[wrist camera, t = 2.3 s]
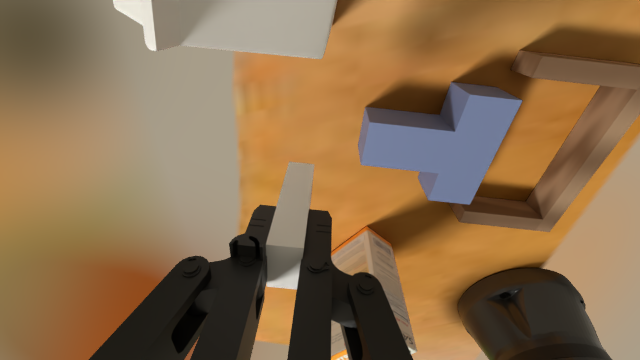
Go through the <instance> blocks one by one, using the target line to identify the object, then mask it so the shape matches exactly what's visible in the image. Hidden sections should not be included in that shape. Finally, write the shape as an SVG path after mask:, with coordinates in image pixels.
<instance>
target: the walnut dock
mask: <svg viewBox="0 0 640 360" xmlns="http://www.w3.org/2000/svg"><path fill="white" fill-rule="evenodd" d="M511 70H513V71H515V72H518V73H521V74H523V75H526V76H529V77H531V78H538V79H547V80H556V81H565V82H574V83H582V84H591V85H600V88H599V89H598V91H597V92H596V94H595V95H594V97H593V98H592V100H591V102H590V103H589V105H588V106H587V108H586V109H585V111H584V112H583V114H582V115H581V117H580V119H579V120H578V122H577V123H576V125H575V126H574V128H573V129H572V131H571V132H570V134H569V136H568V137H567V139H566V140H565V142H564V143H563V145H562V146H561V148H560V149H559V151H558V153H557V154H556V156H555V157H554V159H553V160H552V162H551V163H550V165H549V166H548V168H547V170H546V171H545V173H544V174H543V176H542V177H541V179H540V180H539V182H538V183H537V185H536V187H535V188H534V190H533V191H532V193H531V194H530V196H529V197H528V199H527V201H526V202H524V201H515V200H506V199H497V198H488V197H479V196H474V197H473V199H472V201H471V203H470V205H468V204H459V203H450V204H449V205H450V206H451V208H452V210H453V212H454V213H455V215H456V217H457V219H458V221H459V222H462V223H471V224H481V225H490V226H499V227H508V228H517V229H526V230H535V231H545V232H550V231H551V229H552V228H553V227H554V225H555V224H556V223H557V221H558V220H559V219H560V218H561V216H562V215H563V214H564V212H565V211H566V210H567V208H568V207H569V206H570V204H571V203H572V202H573V201H574V199H575V198H576V197H577V195H578V194H579V193H580V191H581V190H582V189H583V187H584V186H585V185H586V184H587V182H588V181H589V180H590V178H591V177H592V176H593V174H594V173H595V172H596V171H597V169H598V168H599V167H600V165H601V164H602V163H603V161H604V160H605V159H606V157H607V156H608V155H609V154H610V152H611V151H612V150H613V148H614V147H615V146H616V144H617V143H618V142H619V141H620V139H621V138H622V137H623V135H624V134H625V133H626V131H627V130H628V129H629V127H630V126H631V125H632V124H633V122H634V121H635V120H636V118H637V117H638V116H639V114H640V64H635V63H626V62H617V61H609V60H600V59H591V58H582V57H573V56H565V55H556V54H547V53H538V52H530V51H521V50H519V52H518V55H517V57H516V59H515V61H514V63H513V66H512V68H511Z"/></svg>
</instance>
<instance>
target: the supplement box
mask: <svg viewBox="0 0 640 360" xmlns="http://www.w3.org/2000/svg"><path fill="white" fill-rule="evenodd" d="M331 259H332V262H333V264H334V265H335V266H336V267H337V268H338V269H339V270H341V271H342V272H344V273H347V274H349V275H352V276H353V275H354V274H355V273H359V272H367V273H369V274H372V275H373V276H375V277H376V278H377V279H378V280H379V282H380V283H381V285H382V287H383V290H384V292H385V294H386V297H387V299H388V301H389V304H390V306H391V309H392V311H393V313H394V316H395V318H396V320H397V323H398V325H399V327H400V330H401V332H402V334H403V337H404V339H405V342H406V344H407V346H408V349H409V351H410V353H411V354H413V353H415V352H417V349H416V345H415V341H414V337H413V333H412V328H411V324H410V320H409V316H408V312H407V308H406V304H405V299H404V295H403V291H402V287H401V283H400V279H399V275H398V270H397V266H396V262H395V258H394V254H393V250H392V245H391V244H390V243H389V242H387V241H386V240H385V239H383V238H382V237H381V236H379V235H378V234H377V233H375V232H374V231H373V230H371V229H370V228H369V227H367V226H366V227H365V228H363V229H362V230H361V231H359V232H358V233H357V234H355V235H354V236H353V237H351V238H350V239H349V240H347V241H346V242H345V243H343V244H342V245H341V246H339V247H338V248H337V249H335V250H334V251H333V252H331ZM331 360H349V358H348V354H347V350H346V346H345V342H344V338H343V334H342V330H341V326H340V324H339V323H337V322H335V321H332V320H331Z"/></svg>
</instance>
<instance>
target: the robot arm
mask: <svg viewBox="0 0 640 360" xmlns="http://www.w3.org/2000/svg"><path fill="white" fill-rule="evenodd" d="M313 172H314V164H306V163H296V162H289V165H288V168H287V172H286V175H285V179H284V182H283V186H282V189H281V193H280V196H279V200H278V203H277V207H276V206H267V205H260V206H259V207H257V208H256V209H255V210H254V212H253V214H252V217H251V220H250V222H249V225H248V227H247V230H246V232H245V234H241V235H238V236H237V237H235V238H234V239H232V241H231V242H230V243H229V246H230V254H231V257H230V258H227V259H225V260H221V261H215V262H208V261H207V259H205V258H204V257H201V256H193V257H188V258H186V259H183V260H182V261H180V262H179V263H178V264H177V265H176V266H175V267H174V268H173V269H172V270H171V272H169V274H168V275H167V276H166V277H165V278H164V279H163V280H162V281H161V282H160V283H159V284H158V285H157V286H156V287H155V289H154V290H153V291H152V292H151V293H150V294H149V295H148V296H147V297H146V298H145V299H144V300H143V302H142V303H141V304H140V305H139V306H138V307H137V308H136V309H135V310H134V311H133V312H132V313H131V315H130V316H129V317H128V318H127V319H126V320H125V321H124V322H123V323H122V324H121V325H120V326H119V328H117V330H116V331H115V332H114V333H113V334H112V335H111V336H110V337H109V338H108V339H107V341H105V343H104V344H103V345H102V346H101V347H100V348H99V349H98V350H97V351H96V352H95V353H94V354H93V356H92V357H91V358H90V359H89V360H184V359H185V357H186V356H187V354H188V353H189V351H190V350H191V348H192V347H193V345H194V343H195V342H196V340H197V339H198V337H199V339H198V341H197V344H196V346H195V349H194V351H193V354H192V356H191V359H190V360H250V357H251V353H252V349H253V345H254V341H255V336H256V332H257V328H258V324H259V319H260V315H261V311H262V307H263V302H264V290H265V286H266V282H267V287H277V288H287V289H297V293H296V301H295V308H294V315H293V323H292V330H291V337H290V345H289V352H288V359H287V360H331V320H332V321H335V322H337V323H339V324H340V326H341V330H342V334H343V338H344V342H345V346H346V350H347V354H348V358H349V360H413V358H412V356H411V353H410V351H409V349H408V346H407V344H406V342H405V339H404V337H403V334H402V332H401V330H400V327H399V325H398V323H397V320H396V318H395V316H394V313H393V311H392V309H391V306H390V304H389V301H388V299H387V297H386V294H385V292H384V290H383V287H382V285H381V283H380V282H379V280H378V279H377V278H376V277H375V276H373V275H372V274H369V273H367V272H359V273H355V274H354V275H353V276H352V275H349V274H347V273H344V272H342V271H341V270H339V269H338V268H337V267H336V266H335V265H334V264H333V262H332V259H331V231H332V218H331V216H330V214H329V212H328V211H321V210H311V209H310V203H311V193H312V183H313ZM458 312H459V315H460V317H461V320H462V322H463V325H464V327H465V329H466V330H467V332H468V333H469V334H470V335H471V336H472V337H473V338H474V340H475V341H476V343H477V344H478V345H479V347H480V348H481V349H482V351H483V352H484V353H485V355H486V356H487V357H488V359H489V360H612V359H611V358H610V356H609V355H608V354H607V352H606V351H605V350H604V349H603V347H602V345H601V343H600V341H599V339H598V336H597V334H596V331H595V329H594V327H593V325H592V323H591V321H590V319H589V317H588V315H587V313H586V311H585V303H584V300H583V298H582V296H581V295H580V293H579V292H578V291H577V290H576V288H575V287H574V286H573V285H572V284H571V282H570V281H569V280H568V279H567V278H566V277H565V276H563V275H561V274H559V273H557V272H554V271H550V270H547V269H539V268H523V269H514V270H509V271H505V272H501V273H498V274H495V275H492V276H489V277H487V278H485V279H483V280H481V281H479V282H477V283H476V284H474V285H473V286H472V287H470V288H469V289H468V290H467V291H466V292H465V293H464V294H463V296H462V297H461V299H460V301H459V304H458Z"/></svg>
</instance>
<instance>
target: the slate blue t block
mask: <svg viewBox="0 0 640 360" xmlns="http://www.w3.org/2000/svg"><path fill="white" fill-rule="evenodd" d="M522 101H523V100H521V99H519V98H517V97H515V96H513V95H511V94H509V93H507V92H505V91H503V90H501V89H499V88H497V87H491V86H482V85H473V84H464V83H456V82H451V84H450V87H449V90H448V93H447V96H446V98H445V101H444V104H443V107H442V110H441V113H440V115H435V114H426V113H417V112H408V111H399V110H390V109H381V108H372V107H365V111H364V117H363V122H362V127H361V132H360V138H359V143H358V149H359V155H360V162H361V165H366V166H375V167H384V168H393V169H403V170H412V171H420V173H419V176H418V179H419V181H420V184H421V186H422V188H423V190H424V192H425V194H426V196H427V199H428V200H432V201H441V202H450V203H459V204H468V205H470V203H471V201H472V199H473V197H474V195H475V193H476V192H477V190H478V188H479V186H480V184H481V182H482V180H483V178H484V176H485V174H486V172H487V170H488V168H489V166H490V164H491V162H492V160H493V158H494V156H495V154H496V152H497V150H498V148H499V146H500V144H501V142H502V140H503V138H504V136H505V134H506V132H507V130H508V128H509V126H510V124H511V123H512V121H513V119H514V117H515V115H516V113H517V111H518V109H519V107H520V105H521V103H522Z"/></svg>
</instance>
